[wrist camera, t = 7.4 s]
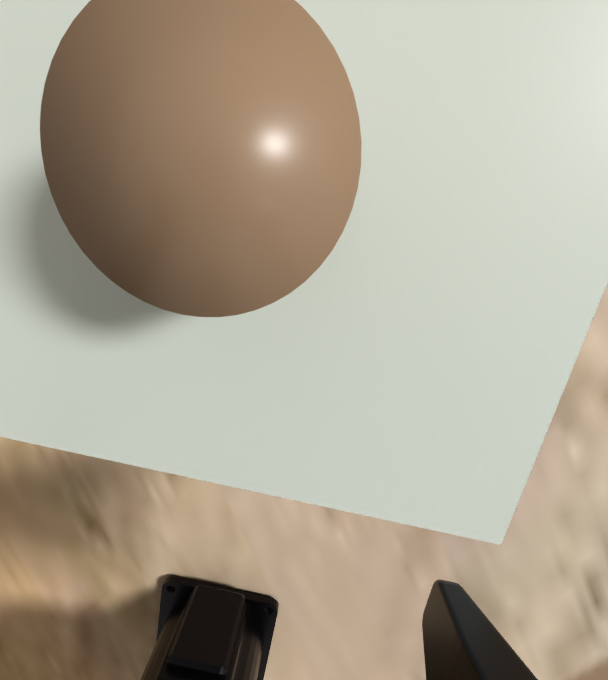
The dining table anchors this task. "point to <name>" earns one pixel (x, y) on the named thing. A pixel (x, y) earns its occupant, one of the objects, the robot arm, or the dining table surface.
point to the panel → (303, 241)
